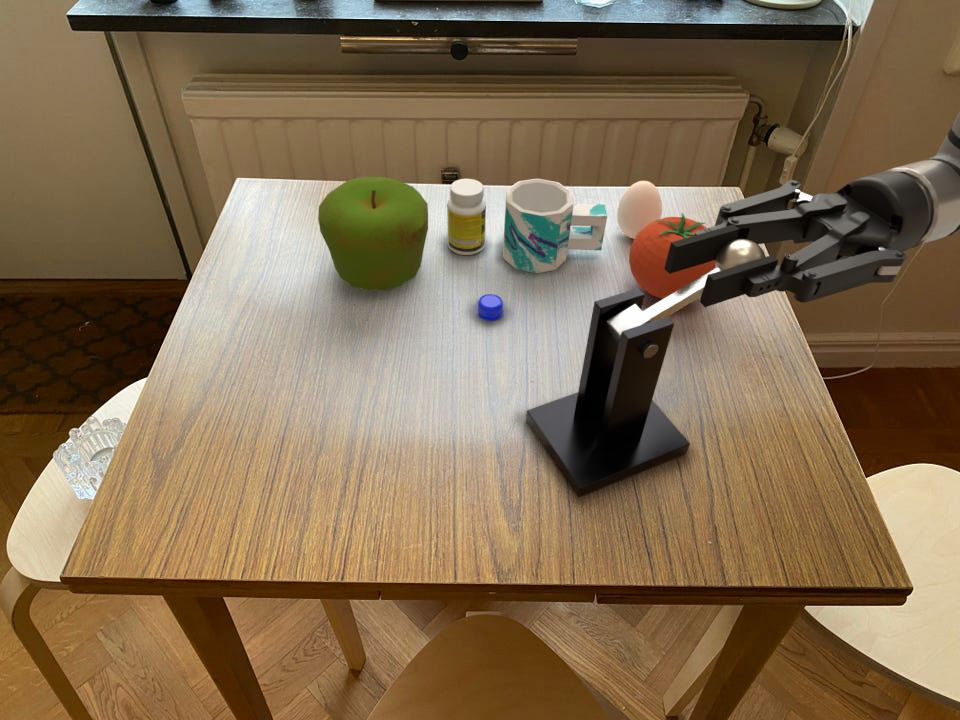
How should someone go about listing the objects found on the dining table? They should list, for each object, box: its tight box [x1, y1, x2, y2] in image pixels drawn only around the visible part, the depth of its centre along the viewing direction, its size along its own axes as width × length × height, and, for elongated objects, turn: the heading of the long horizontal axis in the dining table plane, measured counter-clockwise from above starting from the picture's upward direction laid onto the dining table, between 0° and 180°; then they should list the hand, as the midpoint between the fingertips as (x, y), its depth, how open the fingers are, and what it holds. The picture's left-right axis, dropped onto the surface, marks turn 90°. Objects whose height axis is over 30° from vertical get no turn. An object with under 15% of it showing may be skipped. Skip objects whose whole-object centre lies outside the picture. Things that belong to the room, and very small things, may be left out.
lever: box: [607, 239, 767, 346], centre depth 59 cm, size 14×4×4 cm, turn 116°
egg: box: [616, 180, 663, 240], centre depth 90 cm, size 6×6×8 cm
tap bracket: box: [525, 287, 691, 498], centre depth 63 cm, size 12×10×16 cm
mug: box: [502, 178, 608, 274], centre depth 86 cm, size 8×12×8 cm
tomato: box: [628, 212, 716, 300], centre depth 81 cm, size 10×10×10 cm
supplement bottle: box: [446, 178, 487, 256], centre depth 87 cm, size 5×5×8 cm
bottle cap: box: [476, 293, 504, 322], centre depth 80 cm, size 3×3×2 cm
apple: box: [317, 176, 429, 291], centre depth 82 cm, size 12×12×11 cm
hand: (688, 274), depth 57 cm, fingers closed on lever, 4 cm apart
